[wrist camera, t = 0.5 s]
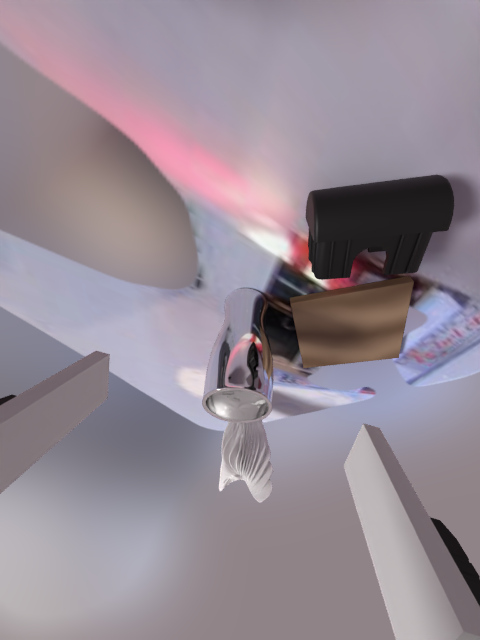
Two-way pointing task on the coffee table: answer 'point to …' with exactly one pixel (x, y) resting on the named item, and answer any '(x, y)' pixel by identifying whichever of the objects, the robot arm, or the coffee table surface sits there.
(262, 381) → the beer glass
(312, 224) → the end cap
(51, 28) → the coffee table surface
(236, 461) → the white ridged vase
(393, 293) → the walnut board
